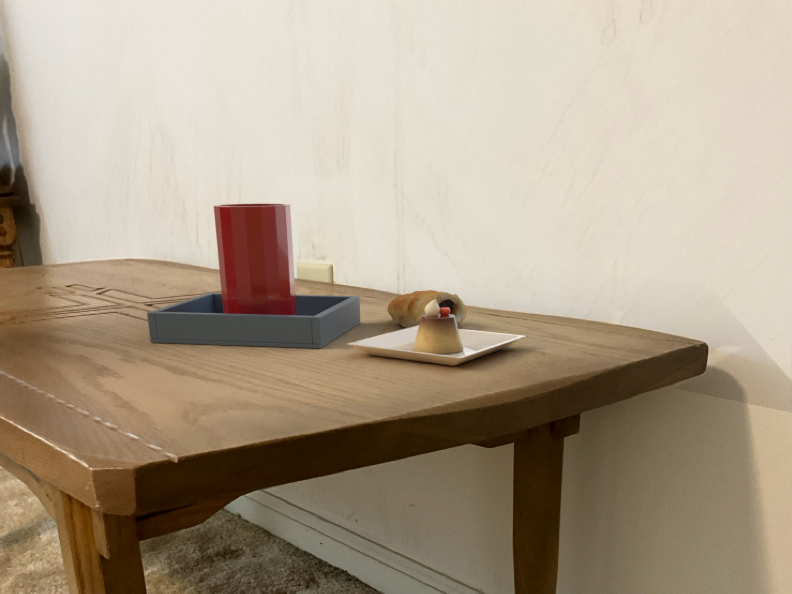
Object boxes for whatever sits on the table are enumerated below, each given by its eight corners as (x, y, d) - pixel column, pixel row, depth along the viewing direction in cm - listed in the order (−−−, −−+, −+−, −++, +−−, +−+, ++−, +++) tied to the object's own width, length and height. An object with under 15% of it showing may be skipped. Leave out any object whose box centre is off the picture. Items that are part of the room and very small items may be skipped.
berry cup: (213, 333, 86) (201, 206, 81) (241, 321, 92) (231, 203, 88) (282, 335, 84) (274, 206, 80) (306, 323, 91) (299, 203, 86)
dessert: (525, 347, 80) (528, 295, 78) (460, 371, 71) (461, 312, 69) (419, 335, 86) (419, 286, 84) (346, 356, 77) (344, 301, 75)
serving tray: (150, 342, 84) (146, 312, 83) (211, 318, 97) (209, 292, 96) (321, 348, 80) (319, 317, 79) (360, 323, 93) (359, 296, 92)
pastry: (372, 321, 94) (371, 286, 92) (420, 316, 98) (420, 281, 96) (423, 333, 87) (424, 295, 86) (473, 327, 91) (475, 290, 89)
